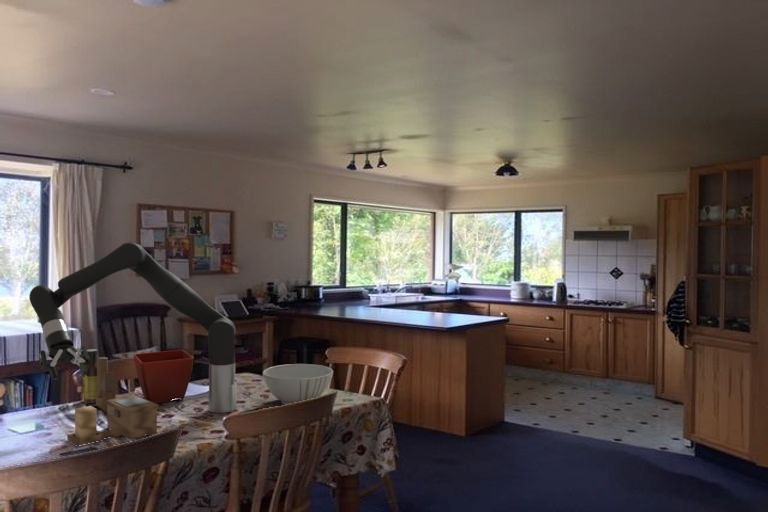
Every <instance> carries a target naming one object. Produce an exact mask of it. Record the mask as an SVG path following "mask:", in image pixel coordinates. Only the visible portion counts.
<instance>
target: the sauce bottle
mask: <svg viewBox="0 0 768 512" xmlns="http://www.w3.org/2000/svg"><path fill="white" fill-rule="evenodd" d="M86 350H87V352H88V355H89V357H90V361H89V363H88V364H87V365H86V367H87V373H86V374H85V376H82V398H83V402H84V403H85V404H93V403H94V404H96V396H97V358H98V349H96V348H91V349H86Z"/></svg>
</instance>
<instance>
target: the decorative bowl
mask: <svg viewBox="0 0 768 512" xmlns="http://www.w3.org/2000/svg"><path fill="white" fill-rule="evenodd" d="M333 374H334V370H333V369H332V368H331V367H329V366H325V365H321V364H308V363H293V364H289V363H288V364H282V365H281V364H280V365H274V366H271V367H268V368H265V369H263V371H262V378H263V379H264V383H265V384H266V385H265V386H266V387H267V389H268V390H269V392H270V393H271V394H272V395H273V396H274V397H275V398H276V399H278V400H279V401H281V404H282V405H284V404H289V403H294V402H299V401H303V400H307V399H311V398H316V397H318V398H320V397H321V396H322V394H323V393H324V392H326V390H327V388H328V387H329V385H330V383H331V381H332V378H333ZM316 399H317V398H316Z"/></svg>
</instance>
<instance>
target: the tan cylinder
mask: <svg viewBox="0 0 768 512" xmlns="http://www.w3.org/2000/svg"><path fill="white" fill-rule="evenodd" d="M97 412H98V411H97V408H95V407H93V406H91V405H89V406H83V407H78V408H74V433H75V437H76V438H78V439H82V438H87V437H91V436H96V435H97V431H98V429H97V424H98V423H97V420H98V419H97V417H98V415H97Z"/></svg>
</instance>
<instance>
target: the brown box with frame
mask: <svg viewBox="0 0 768 512" xmlns="http://www.w3.org/2000/svg"><path fill="white" fill-rule="evenodd" d="M106 404H107V412H106V417H107V418H106V419H107V420H106V426H107V429H108V428H109V429H108V430H107V429H106V430H103V431H98V430H97V435H96V436H91V437H87V438H82V439H78V438H76V437H75V432H74V433H67V435H66V436H67V439H66V440H68V441H70V442H72V443H73V444H75V445H77V446H79V445H83V444H88V443H92V442H96V441H101V440H104V441H105V439H104V438H108V437H112V438H115V437H114V436H116V437H120V436H119V435H121V436H122V435H123V436H122V437H124V436H125V437H124V438H126V437H127V438H126V439H128V440H132V439H131V438H133V439H136V438H135V437H137V438H141V437H144V436H143V435H145V434H150V435H153V434H156V433H158V429H157V428H158V414H157V413H158V409H159V403H153V402H151V401H148V400H146V399H145V398H143V397H141V396H139V395H135V394H133V395H128V396H122V397H117V398H116V397H115V399H110V400H106ZM110 429H111V430H110ZM140 436H141V437H140ZM145 436H146V435H145ZM108 439H109V438H108ZM68 441H67V442H68ZM70 442H69V443H70ZM101 442H102V441H101ZM72 443H71V444H72ZM73 444H72V445H73ZM75 445H74V446H75ZM88 445H89V444H88ZM77 446H76V447H77Z"/></svg>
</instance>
